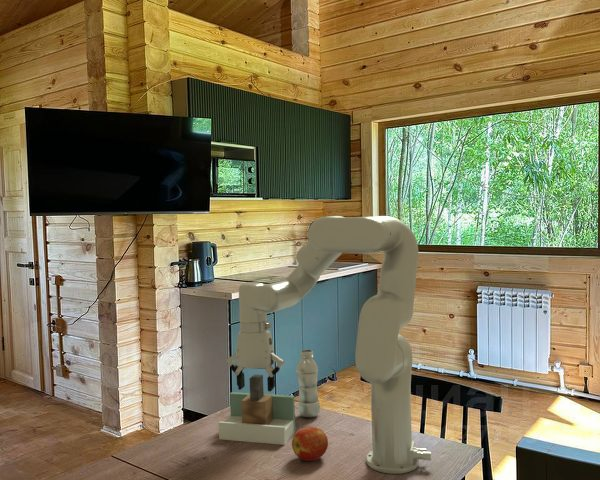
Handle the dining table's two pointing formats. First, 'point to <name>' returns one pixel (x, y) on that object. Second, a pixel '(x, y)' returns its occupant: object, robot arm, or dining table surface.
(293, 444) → the apple
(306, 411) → the plastic bottle
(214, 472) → the dining table surface
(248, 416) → the tan grey tall block
